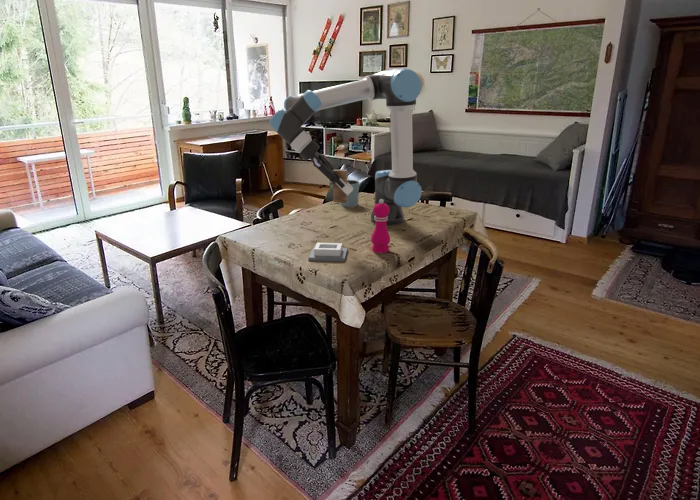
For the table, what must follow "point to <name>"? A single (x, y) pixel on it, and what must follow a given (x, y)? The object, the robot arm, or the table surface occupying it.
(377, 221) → the pepper mill
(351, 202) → the blue-grey cup
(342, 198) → the wooden slat
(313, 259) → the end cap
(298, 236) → the table surface
